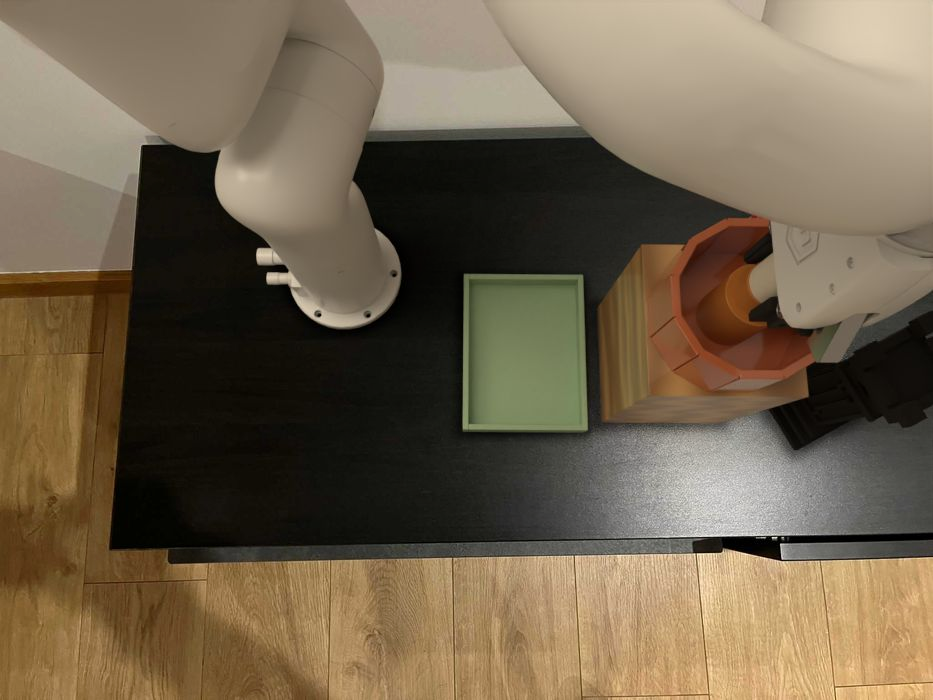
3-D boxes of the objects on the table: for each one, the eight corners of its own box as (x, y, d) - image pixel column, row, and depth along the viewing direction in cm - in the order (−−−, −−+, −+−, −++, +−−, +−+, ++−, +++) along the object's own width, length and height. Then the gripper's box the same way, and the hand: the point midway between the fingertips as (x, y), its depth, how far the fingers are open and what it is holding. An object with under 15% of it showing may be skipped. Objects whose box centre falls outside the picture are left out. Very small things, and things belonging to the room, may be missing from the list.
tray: (462, 431, 75) (462, 429, 73) (463, 280, 79) (463, 273, 77) (583, 432, 75) (588, 430, 73) (579, 281, 79) (583, 274, 77)
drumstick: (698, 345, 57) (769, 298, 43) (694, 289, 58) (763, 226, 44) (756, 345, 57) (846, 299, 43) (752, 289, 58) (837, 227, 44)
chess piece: (794, 450, 75) (910, 433, 56) (754, 385, 77) (853, 347, 57) (855, 416, 76) (991, 388, 56) (814, 353, 77) (933, 303, 58)
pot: (652, 392, 56) (676, 378, 50) (645, 247, 59) (666, 217, 53) (805, 393, 56) (848, 379, 50) (790, 248, 59) (830, 218, 53)
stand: (601, 422, 76) (648, 395, 56) (597, 307, 78) (641, 244, 59) (719, 423, 76) (809, 396, 56) (711, 308, 78) (794, 245, 59)
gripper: (837, 6, 33) (706, 180, 51) (879, 345, 30) (722, 404, 48) (994, 8, 33) (808, 181, 51) (1054, 347, 30) (831, 404, 48)
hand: (767, 287), depth 49 cm, fingers closed on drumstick, 3 cm apart
